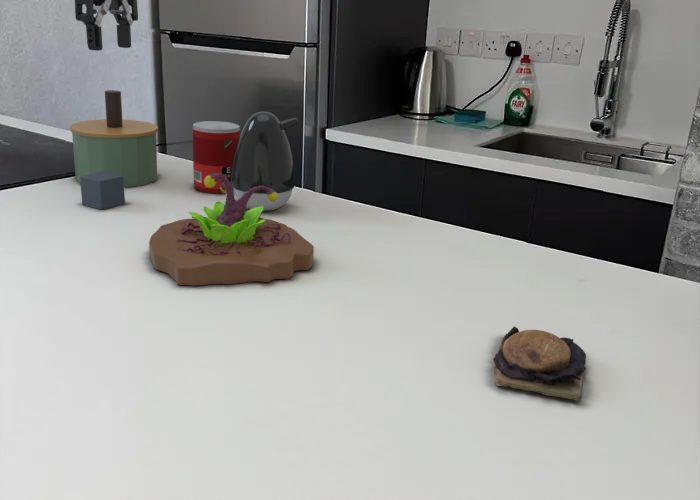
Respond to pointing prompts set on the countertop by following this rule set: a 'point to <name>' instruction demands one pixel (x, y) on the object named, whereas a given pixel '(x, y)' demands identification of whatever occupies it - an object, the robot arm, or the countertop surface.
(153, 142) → the tin
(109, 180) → the block
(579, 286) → the countertop surface
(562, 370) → the toy sandwich
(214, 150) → the canned food
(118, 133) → the lid
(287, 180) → the pump dispenser
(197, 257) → the plant
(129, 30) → the robot arm
